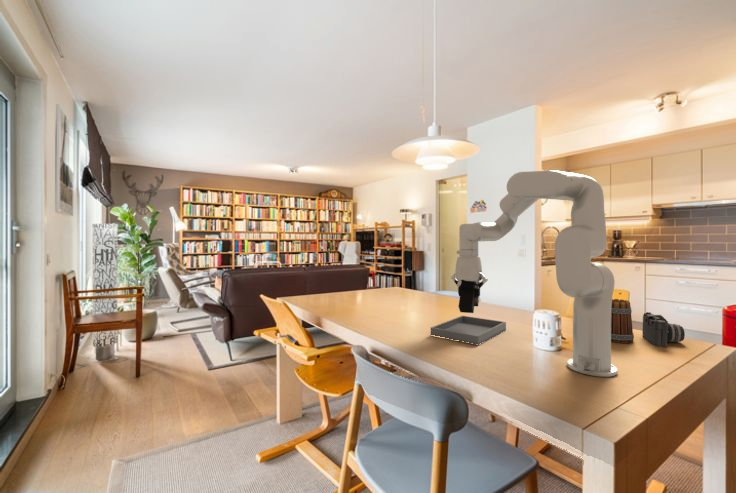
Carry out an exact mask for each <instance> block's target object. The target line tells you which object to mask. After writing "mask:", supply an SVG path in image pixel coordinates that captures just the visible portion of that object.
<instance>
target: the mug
mask: <svg viewBox="0 0 736 493" xmlns="http://www.w3.org/2000/svg"><path fill="white" fill-rule="evenodd" d="M632 312H633V311H632V307H631V302H630V301H629V300H625V299H618V298H612V306H611V343H616V344H617V343H618V344H632V343H633V342H634V338H635V336H634V331H633V322H632Z"/></svg>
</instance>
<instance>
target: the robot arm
mask: <svg viewBox="0 0 736 493" xmlns="http://www.w3.org/2000/svg"><path fill="white" fill-rule="evenodd" d="M603 190H604V189H603V187H602V186H601V184H600V183H599V182H598V181H597V179H594V178H593V177H591V176H588V175H585V174H581V173H577V172H576V173H575V172H568V171H562V170H552V169H551V170H536V171H519V172H516V173H514V174H513V175H512V176H510V178H508V181H507V183H506V191H507V193H506V195H505V196H504V197H503V198H501V199H500V201H499V209H500V210H501V212H502V214H501V215H500V216H499V217H498V218H497V219H496V220H495V221H493V222H492V221H490V222H489V221H488V222H486V221H484V222H482V221H481V222H480V221H479V222H478V221H477V222H474V223H462V224H460V225H459V229H458V230H459V231H458V233H459V234H458V235H459V237H458V238H459V241H458V242H459V244H458V245H459V248H458V250H456V254H458V256H457V258H456V263H455V270H454V272H455V273H453V274H452V276H451V277H450V278H451V280H452V281H453V282H454V283H455V285H456V287H457V293H458V297H460V293H461V280H465V281H469V282H474V284H475V287H476V288H475V289H474V290H475V298H479V299H480V296H481V288H482V287H483V285H485V284H486V283H487V282H488V280H489V279H488V278H487V277H486V275H485V274H484V273H483V269H482V268H483V267H482V260H481V257H480V256H479V242H496V241H498V240H501V239H502V238H504V237H505V236H506V235H507V234H508V233H510V232H511V231H513V229H514V227H515V226H516V223H517V222H518V220H519V219H518V218H519V217H520V216H521V215H522V214H523V213H524V212H525V211H527V210H528V209H529V208H530V207H531V206H533V205H534V204H535V203H536V202H537V201H538V200H540V199H541V200H543V199H544V200H545V199H546V200H556V201H557V200H558V201H571V202H572V205H571V209H570V210H571V211H570V221H571V225H570V226H566V227H564V228H562V230H560V231H559V233H558V234H557V236H556V238H555V241H554V259H555V260H554V261H555V274H556V283H557V286H558V288H559V290H560V291H561V292H562V293H563V294H565V295H566V296H568V297H569V298H574V299H573V303H572V305H573V306H572V358H569V359H567V361H566V365H567V367H568V368H569V369H570V370H572V371H574V372H577V373H580V374H584V375H588V376H593V377H600V378H601V377H603V378H605V377H606V378H607V377H608V378H609V377H610V378H611V377H614V376H616V375H618V374H619V370H618V368H617V367H616V366H615V365H614V364H612V342H611V306H612V299H613V296H614V290H615V277H614V273H613V272H612V271H611V269H610V268H609V267H608V266H606V265H605V264H603V263H600V262H592V258H597V257H600V256H601V255H603V254H604V253H605V252H606V250H607V248H608V238H607V226H606V214H605V198H604V197H605V195H604V191H603Z"/></svg>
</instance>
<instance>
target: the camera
mask: <svg viewBox="0 0 736 493" xmlns="http://www.w3.org/2000/svg"><path fill="white" fill-rule="evenodd" d="M641 331H642V337H643V338H644V339H645V340H647V341H648V342H650V343H651V344H653V345H654V346H655V347H660V348H668V342H669V343H679V342H680V343H681V342H683V341H684V340H685V329H684V327H683V326H681V325H680V324H677V323H670V322H669V321H668V320H667V319H666V318H665V317H664V316H663V315H661V314H654V313H652V312H650V311H647V312H645V313H643V315H642V330H641Z"/></svg>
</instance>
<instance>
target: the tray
mask: <svg viewBox="0 0 736 493" xmlns="http://www.w3.org/2000/svg"><path fill="white" fill-rule="evenodd" d="M503 331H504V332H505V331H507V322H506V321H501V320H494V319H486V318H480V317H474V316H468V315H460V316H458V317H455V318H452V319H450V320H446V321H445V322H442V323H439V324H436V325H433V326H432V327H430V336H431V335H435V336H440V337H445V338H449V339H453V340H459V341H464V342H469V343H473V344H480V343H482V342H484V341H486V340H488V339H490V338H491V339H493V338H495V337H496V335H497V336H499V335H500V334H502V333H504V332H503ZM501 332H502V333H501ZM494 336H495V337H494ZM492 337H493V338H492ZM491 339H490V340H491ZM488 341H489V340H488ZM486 342H487V341H486ZM484 343H485V342H484Z"/></svg>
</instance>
